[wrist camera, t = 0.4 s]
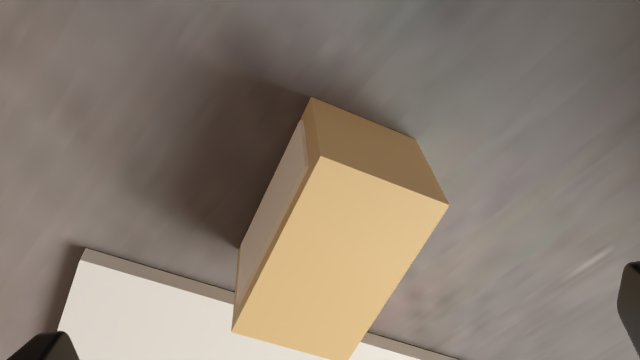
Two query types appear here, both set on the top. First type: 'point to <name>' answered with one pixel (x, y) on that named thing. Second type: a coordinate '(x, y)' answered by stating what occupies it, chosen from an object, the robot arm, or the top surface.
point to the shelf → (175, 319)
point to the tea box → (333, 233)
